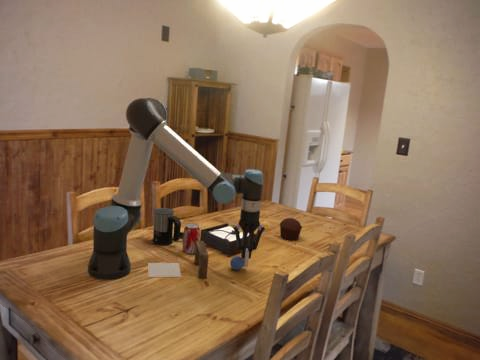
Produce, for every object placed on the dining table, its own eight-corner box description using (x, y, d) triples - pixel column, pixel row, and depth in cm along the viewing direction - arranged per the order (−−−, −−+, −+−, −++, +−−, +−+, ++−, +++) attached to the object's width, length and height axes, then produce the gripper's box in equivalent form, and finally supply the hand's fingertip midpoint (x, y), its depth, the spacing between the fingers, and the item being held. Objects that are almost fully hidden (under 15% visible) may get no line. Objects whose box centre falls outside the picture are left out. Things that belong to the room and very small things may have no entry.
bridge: (198, 278, 149) (200, 255, 147) (194, 262, 163) (196, 240, 161) (206, 278, 150) (208, 255, 148) (201, 262, 163) (203, 240, 161)
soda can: (195, 256, 169) (197, 229, 166) (179, 253, 170) (181, 226, 167) (200, 250, 175) (202, 224, 173) (185, 247, 177) (187, 221, 174)
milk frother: (148, 243, 177) (149, 211, 174) (163, 232, 192) (165, 203, 189) (178, 249, 174) (180, 216, 171) (191, 237, 189) (193, 207, 186)
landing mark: (148, 277, 146) (148, 277, 146) (148, 263, 157) (148, 263, 157) (181, 277, 149) (181, 276, 148) (178, 263, 160) (178, 263, 160)
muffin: (304, 241, 199) (307, 222, 197) (285, 242, 195) (287, 223, 193) (293, 233, 210) (295, 215, 207) (274, 234, 205) (276, 215, 203)
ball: (233, 274, 157) (230, 261, 155) (230, 268, 162) (227, 255, 160) (246, 270, 158) (244, 258, 156) (243, 264, 163) (241, 252, 161)
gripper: (236, 212, 150) (231, 270, 155) (269, 212, 153) (263, 269, 158) (232, 206, 157) (227, 261, 162) (263, 206, 160) (258, 261, 165)
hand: (245, 265), depth 160 cm, fingers closed
